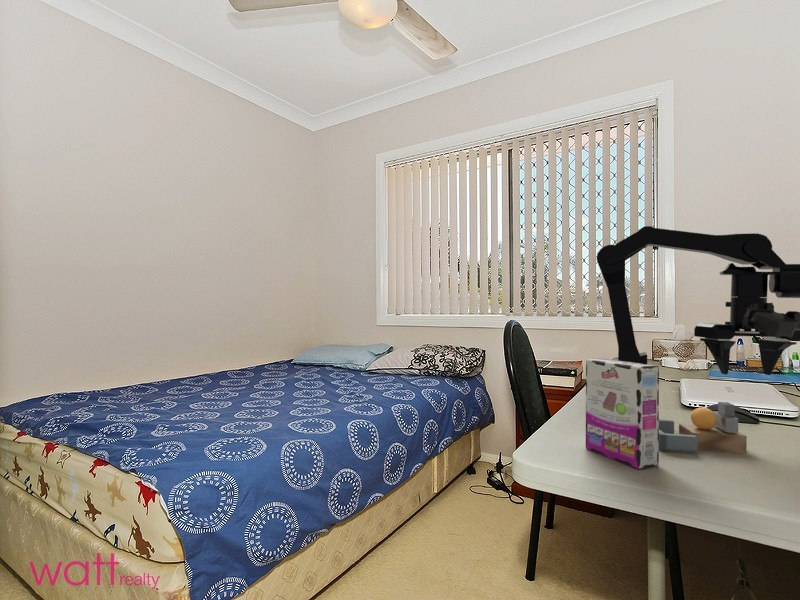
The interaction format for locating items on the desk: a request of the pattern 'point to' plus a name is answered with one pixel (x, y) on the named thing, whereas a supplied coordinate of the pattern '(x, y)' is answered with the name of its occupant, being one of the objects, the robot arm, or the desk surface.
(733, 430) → the gray zigzag block
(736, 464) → the desk surface
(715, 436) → the tan block
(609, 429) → the candy bar box
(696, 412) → the ball
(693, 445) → the tray
